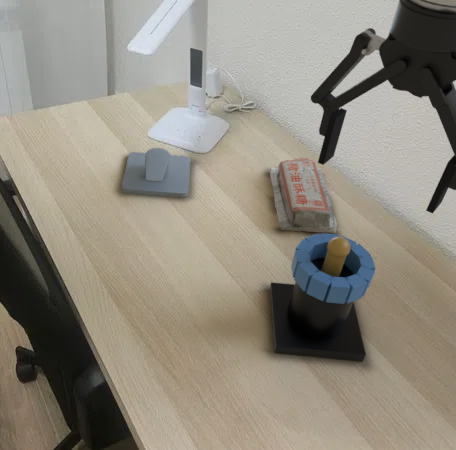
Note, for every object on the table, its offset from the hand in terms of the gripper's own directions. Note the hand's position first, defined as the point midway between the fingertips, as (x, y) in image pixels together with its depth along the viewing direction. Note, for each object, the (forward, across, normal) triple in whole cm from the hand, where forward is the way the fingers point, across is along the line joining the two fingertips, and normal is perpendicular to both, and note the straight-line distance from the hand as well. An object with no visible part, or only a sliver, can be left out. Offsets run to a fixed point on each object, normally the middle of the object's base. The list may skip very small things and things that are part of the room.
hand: (376, 182), depth 66 cm
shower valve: (+24, -41, +8) cm, 48 cm away
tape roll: (+14, -1, -3) cm, 15 cm away
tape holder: (+24, -1, -3) cm, 24 cm away
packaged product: (+24, -17, +21) cm, 36 cm away
